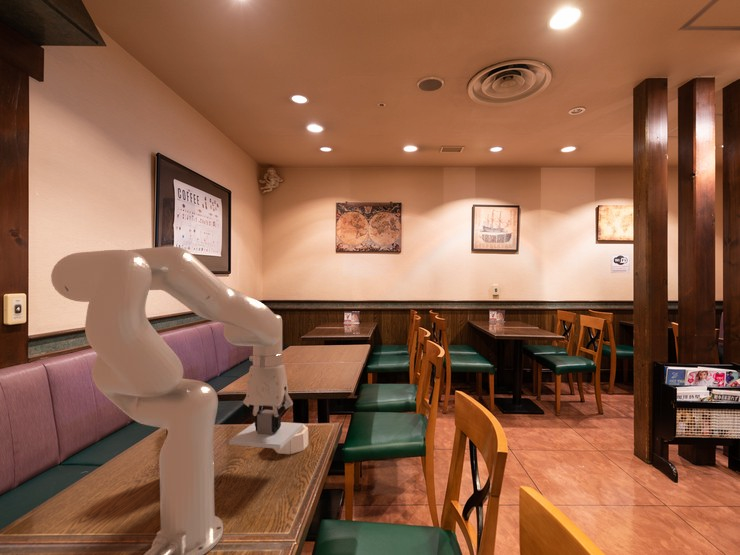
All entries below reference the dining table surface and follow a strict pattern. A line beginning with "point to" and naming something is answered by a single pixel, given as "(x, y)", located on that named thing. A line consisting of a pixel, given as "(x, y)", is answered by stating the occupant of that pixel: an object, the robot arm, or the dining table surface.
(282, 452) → the bowl
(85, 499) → the dining table surface
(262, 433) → the lid
